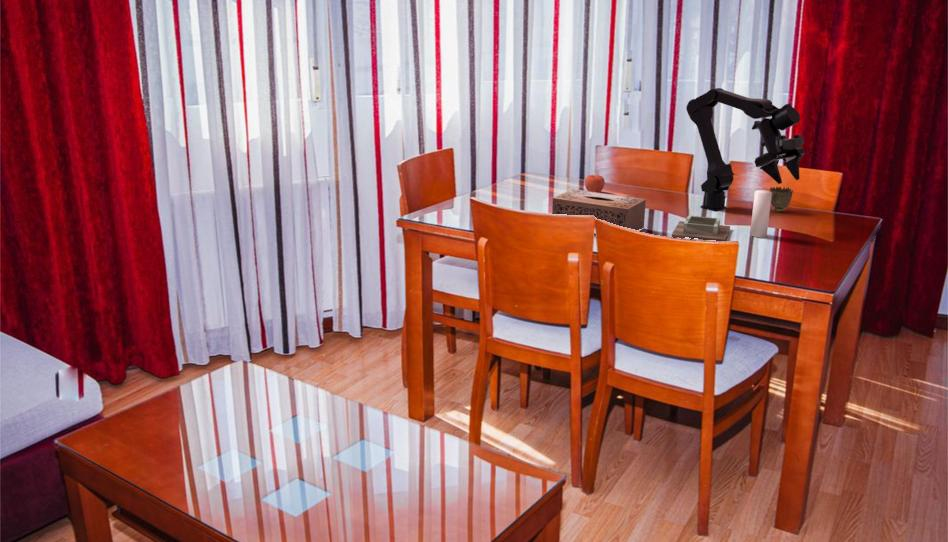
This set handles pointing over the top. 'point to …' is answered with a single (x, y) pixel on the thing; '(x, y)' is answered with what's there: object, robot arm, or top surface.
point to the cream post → (760, 213)
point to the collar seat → (701, 229)
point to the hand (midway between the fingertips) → (789, 181)
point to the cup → (780, 198)
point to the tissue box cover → (602, 207)
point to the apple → (594, 183)
